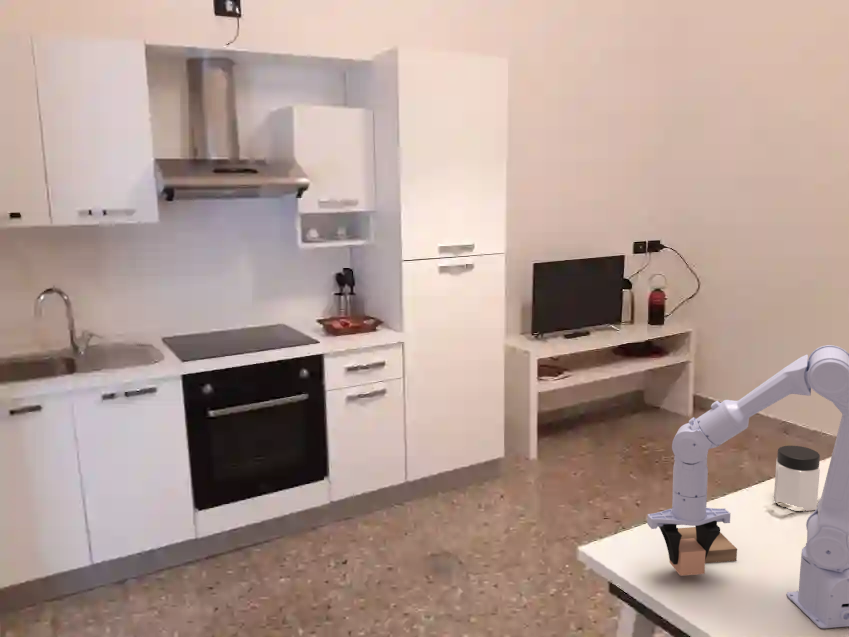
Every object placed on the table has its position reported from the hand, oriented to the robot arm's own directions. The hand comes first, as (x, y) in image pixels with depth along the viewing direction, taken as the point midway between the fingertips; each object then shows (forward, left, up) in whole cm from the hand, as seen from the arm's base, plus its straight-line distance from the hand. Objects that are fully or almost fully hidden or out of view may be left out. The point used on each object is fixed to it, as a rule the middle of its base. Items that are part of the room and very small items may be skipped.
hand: (687, 560), depth 126 cm
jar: (+24, -36, -3) cm, 43 cm away
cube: (0, 0, -2) cm, 2 cm away
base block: (+8, -7, -3) cm, 11 cm away
